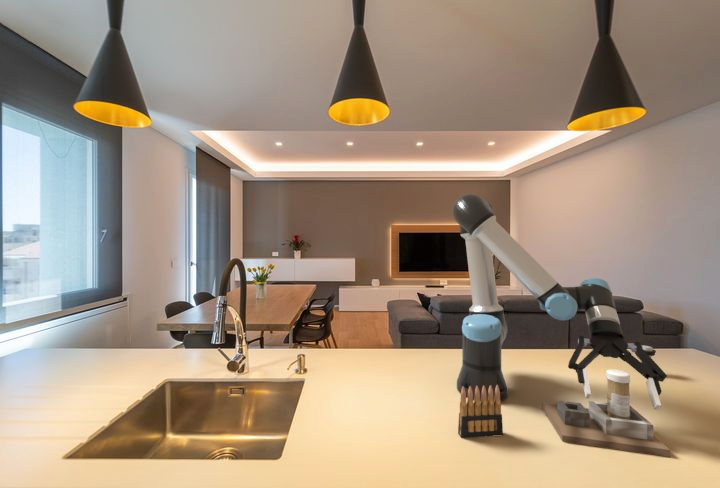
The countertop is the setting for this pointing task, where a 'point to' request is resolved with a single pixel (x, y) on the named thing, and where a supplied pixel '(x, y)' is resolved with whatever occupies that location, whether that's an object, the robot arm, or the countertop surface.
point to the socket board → (603, 428)
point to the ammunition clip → (480, 413)
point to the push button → (648, 350)
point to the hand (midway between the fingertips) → (621, 401)
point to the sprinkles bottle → (618, 394)
